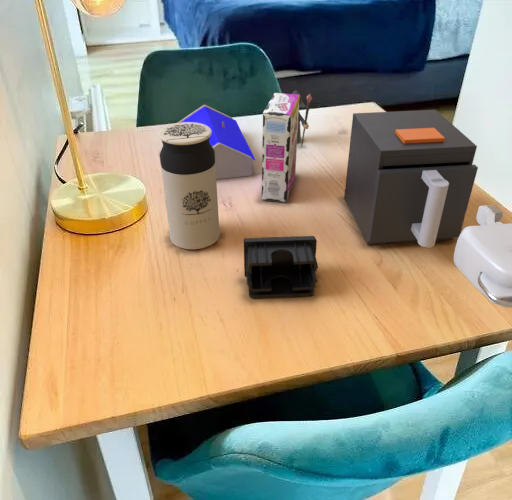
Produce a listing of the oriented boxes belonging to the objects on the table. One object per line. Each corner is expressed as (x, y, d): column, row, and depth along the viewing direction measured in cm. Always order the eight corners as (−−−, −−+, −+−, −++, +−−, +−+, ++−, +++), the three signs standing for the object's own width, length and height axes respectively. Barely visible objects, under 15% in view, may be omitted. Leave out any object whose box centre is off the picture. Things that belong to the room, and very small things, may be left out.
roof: (256, 175, 100) (255, 140, 96) (185, 182, 98) (182, 146, 93) (236, 133, 118) (235, 102, 113) (176, 138, 115) (172, 106, 111)
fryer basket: (473, 255, 75) (494, 183, 68) (379, 262, 74) (391, 189, 67) (424, 192, 91) (437, 128, 84) (345, 196, 90) (352, 132, 83)
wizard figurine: (275, 141, 113) (275, 88, 106) (288, 133, 117) (289, 81, 110) (307, 150, 109) (310, 95, 102) (319, 141, 113) (323, 88, 106)
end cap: (311, 265, 75) (313, 227, 72) (318, 296, 70) (321, 256, 66) (244, 268, 75) (243, 229, 71) (245, 299, 69) (244, 259, 65)
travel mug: (171, 225, 85) (158, 122, 75) (218, 222, 86) (212, 119, 75) (169, 252, 78) (154, 143, 68) (220, 249, 79) (213, 141, 69)
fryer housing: (452, 239, 81) (478, 142, 71) (367, 245, 80) (381, 147, 70) (418, 194, 93) (436, 106, 83) (343, 198, 92) (353, 109, 82)
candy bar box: (288, 203, 91) (291, 114, 81) (260, 201, 91) (260, 112, 82) (297, 175, 100) (300, 92, 90) (272, 173, 100) (273, 91, 91)
